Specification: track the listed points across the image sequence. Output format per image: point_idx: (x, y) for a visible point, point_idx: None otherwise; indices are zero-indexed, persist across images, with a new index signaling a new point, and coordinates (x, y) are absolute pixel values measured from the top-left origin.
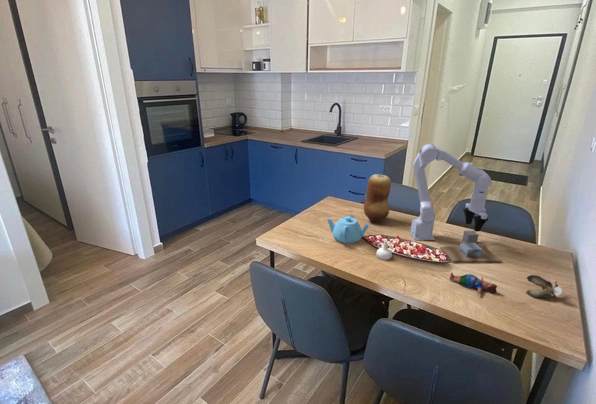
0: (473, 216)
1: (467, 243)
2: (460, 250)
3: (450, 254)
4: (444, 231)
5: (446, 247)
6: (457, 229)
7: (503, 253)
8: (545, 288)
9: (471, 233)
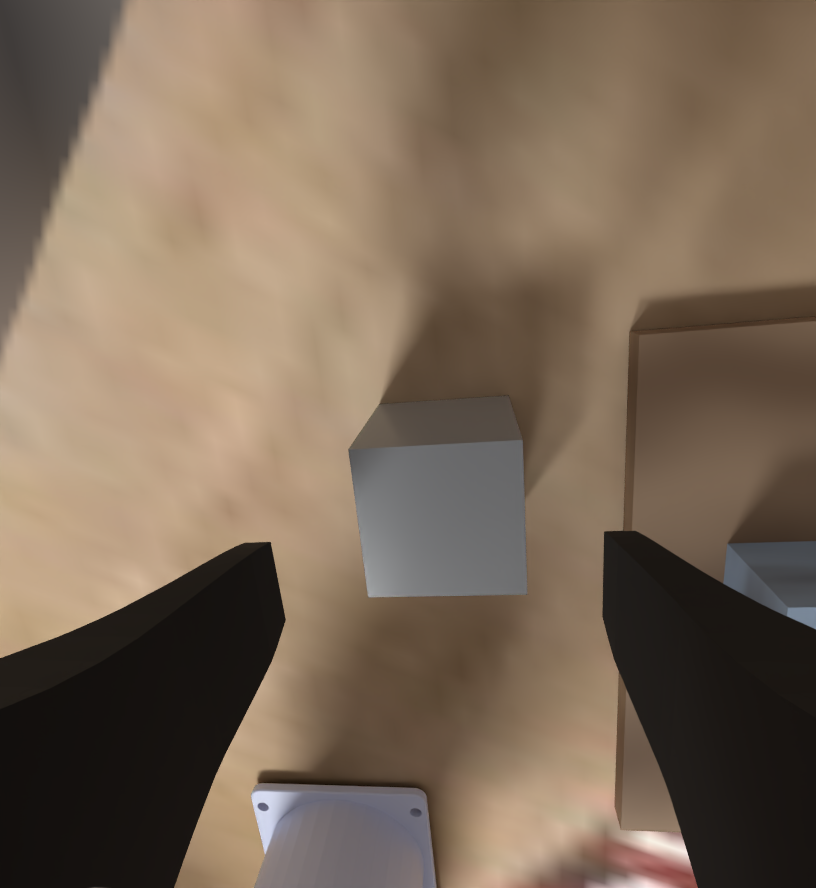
0: (156, 635)
1: None
2: None
3: None
4: None
5: (643, 788)
6: (76, 452)
7: (798, 107)
8: None
9: (467, 532)
